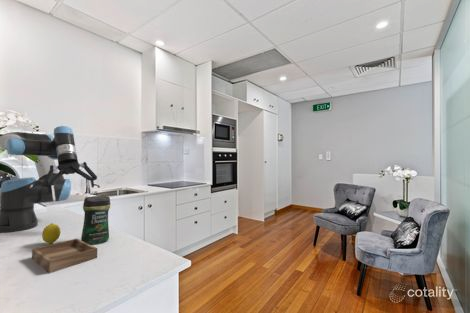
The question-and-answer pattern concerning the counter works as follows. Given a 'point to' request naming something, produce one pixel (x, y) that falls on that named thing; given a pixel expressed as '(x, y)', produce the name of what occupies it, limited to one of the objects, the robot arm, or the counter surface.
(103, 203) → the coffee jar
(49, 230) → the lemon
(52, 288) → the counter surface
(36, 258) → the walnut tray
